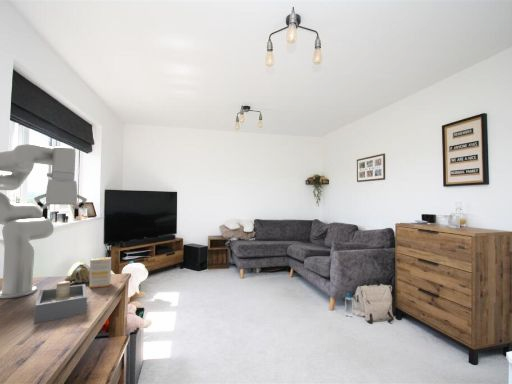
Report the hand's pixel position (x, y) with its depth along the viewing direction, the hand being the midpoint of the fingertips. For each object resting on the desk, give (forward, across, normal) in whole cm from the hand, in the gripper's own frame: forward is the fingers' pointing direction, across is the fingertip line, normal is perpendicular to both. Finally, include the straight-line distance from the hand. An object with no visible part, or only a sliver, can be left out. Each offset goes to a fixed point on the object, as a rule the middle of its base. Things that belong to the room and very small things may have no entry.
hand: (60, 218), depth 105 cm
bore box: (+33, +2, -12) cm, 35 cm away
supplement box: (+34, +16, +10) cm, 38 cm away
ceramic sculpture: (+34, +8, +21) cm, 41 cm away
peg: (+33, +2, -12) cm, 35 cm away
